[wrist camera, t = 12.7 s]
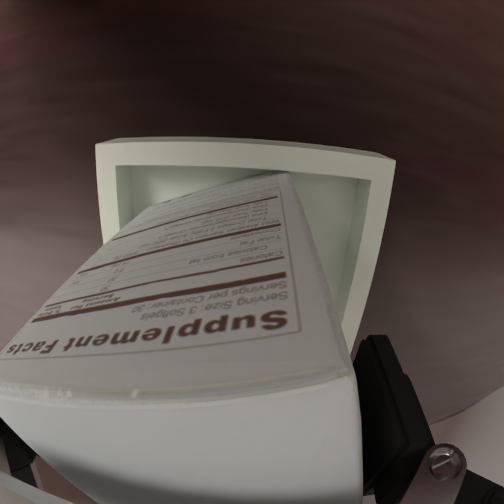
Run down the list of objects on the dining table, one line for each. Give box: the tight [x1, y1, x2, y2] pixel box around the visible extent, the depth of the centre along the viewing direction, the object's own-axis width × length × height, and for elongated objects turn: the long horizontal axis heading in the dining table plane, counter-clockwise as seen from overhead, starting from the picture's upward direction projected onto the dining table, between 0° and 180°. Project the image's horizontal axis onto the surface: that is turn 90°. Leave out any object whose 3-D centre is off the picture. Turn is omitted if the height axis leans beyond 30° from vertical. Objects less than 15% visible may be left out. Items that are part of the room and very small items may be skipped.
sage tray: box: [95, 137, 396, 354], centre depth 16 cm, size 13×13×2 cm
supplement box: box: [0, 170, 363, 504], centre depth 11 cm, size 7×7×13 cm
